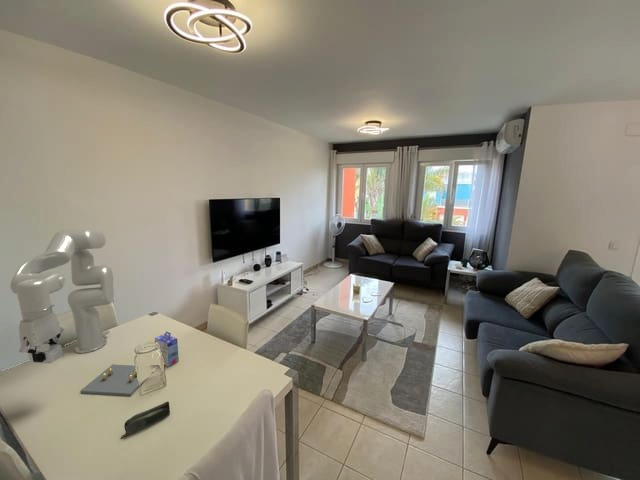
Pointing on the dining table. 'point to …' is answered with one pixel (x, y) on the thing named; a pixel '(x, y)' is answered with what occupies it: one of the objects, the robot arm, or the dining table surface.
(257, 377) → the dining table surface
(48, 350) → the block
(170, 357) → the ink cartridge box
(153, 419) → the mobile phone
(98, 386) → the pin tray
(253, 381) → the dining table surface
